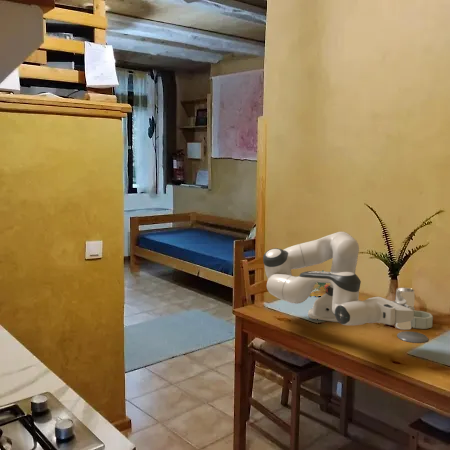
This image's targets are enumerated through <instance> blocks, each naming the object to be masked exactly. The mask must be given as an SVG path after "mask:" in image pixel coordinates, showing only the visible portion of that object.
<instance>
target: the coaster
mask: <svg viewBox="0 0 450 450" xmlns="http://www.w3.org/2000/svg"><path fill="white" fill-rule="evenodd" d="M396 336H397V338H398V339H399V340H401V341H403V342H408V343H412V344H422V343H427V342H428V341H429V337H428V336H427V335H426V334H423V333H420V332H417V331H409V330H408V331H407V330H404V331H400V332H398V333H397V334H396Z"/></svg>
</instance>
